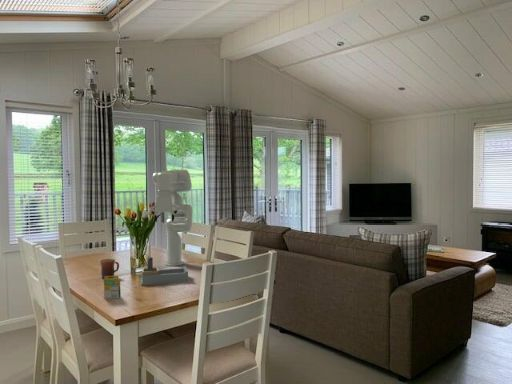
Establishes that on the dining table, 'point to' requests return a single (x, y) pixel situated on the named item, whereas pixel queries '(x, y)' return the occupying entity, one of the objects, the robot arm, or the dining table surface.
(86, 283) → the dining table surface
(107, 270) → the mug
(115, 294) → the crayon box
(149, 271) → the crate
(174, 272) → the bay
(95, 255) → the dining table surface
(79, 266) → the dining table surface
